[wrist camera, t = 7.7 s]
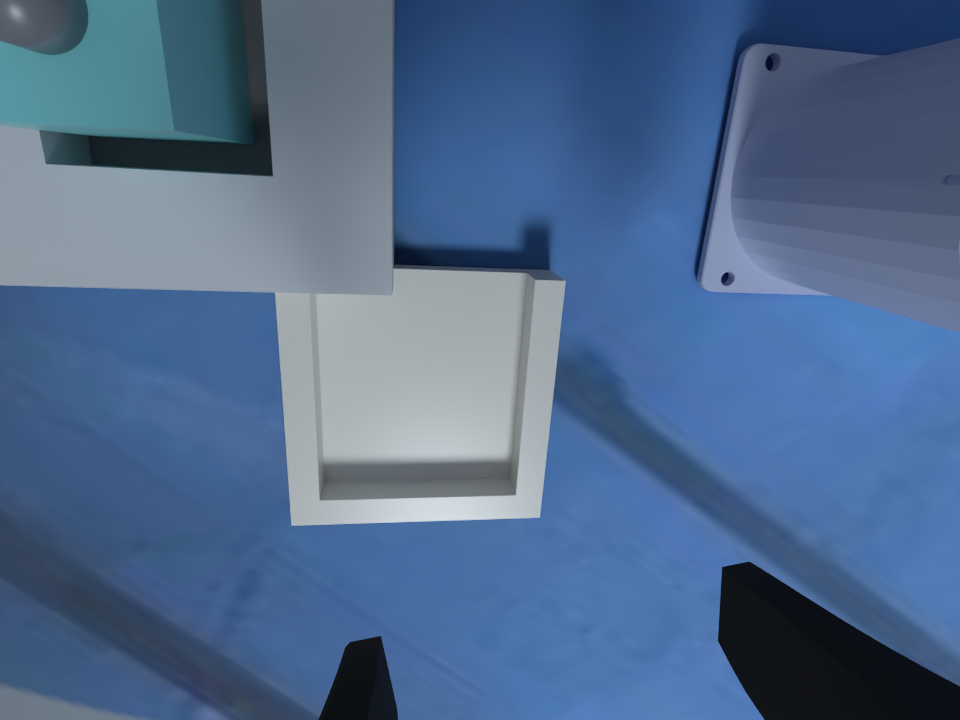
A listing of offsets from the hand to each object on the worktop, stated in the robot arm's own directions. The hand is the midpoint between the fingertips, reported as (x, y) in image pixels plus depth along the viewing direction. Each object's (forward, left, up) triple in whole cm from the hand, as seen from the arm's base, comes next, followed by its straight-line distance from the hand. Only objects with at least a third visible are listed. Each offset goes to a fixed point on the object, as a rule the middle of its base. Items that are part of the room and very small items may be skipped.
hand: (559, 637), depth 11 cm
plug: (+10, -11, -10) cm, 18 cm away
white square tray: (+3, -1, -10) cm, 11 cm away
